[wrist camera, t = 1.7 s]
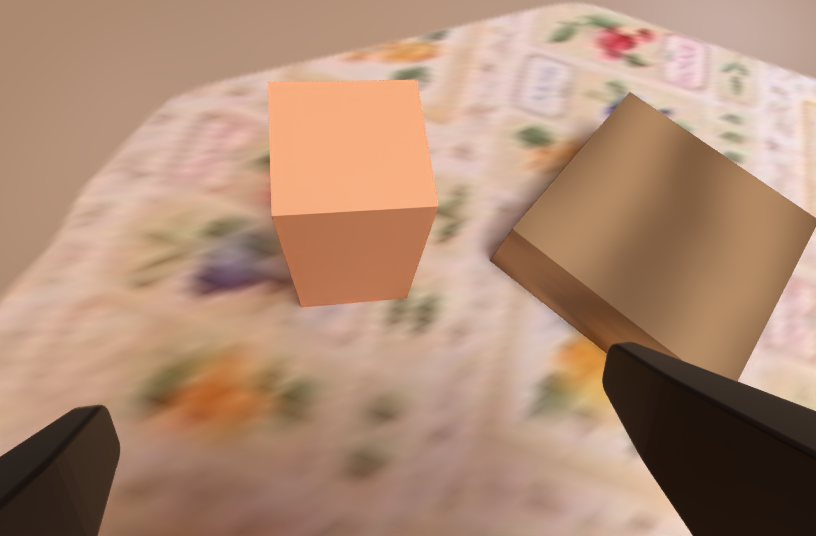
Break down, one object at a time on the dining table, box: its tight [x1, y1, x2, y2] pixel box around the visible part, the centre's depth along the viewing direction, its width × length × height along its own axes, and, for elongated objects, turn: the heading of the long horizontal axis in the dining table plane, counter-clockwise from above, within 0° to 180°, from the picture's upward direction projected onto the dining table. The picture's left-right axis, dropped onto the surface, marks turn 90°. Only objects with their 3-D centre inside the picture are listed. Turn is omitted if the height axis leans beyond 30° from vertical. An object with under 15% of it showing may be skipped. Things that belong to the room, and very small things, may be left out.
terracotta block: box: [268, 80, 439, 307], centre depth 19 cm, size 5×5×9 cm
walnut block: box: [490, 92, 816, 381], centre depth 23 cm, size 11×11×4 cm
